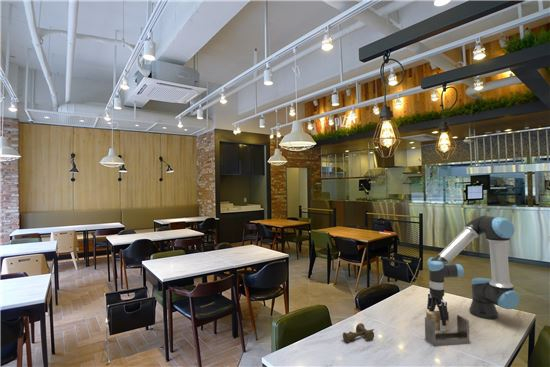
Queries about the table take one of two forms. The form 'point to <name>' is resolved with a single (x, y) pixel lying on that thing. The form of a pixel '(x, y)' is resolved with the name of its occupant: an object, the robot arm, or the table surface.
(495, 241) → the robot arm
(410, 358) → the table surface
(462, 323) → the grey u-shaped piece
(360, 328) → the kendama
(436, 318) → the door panel
